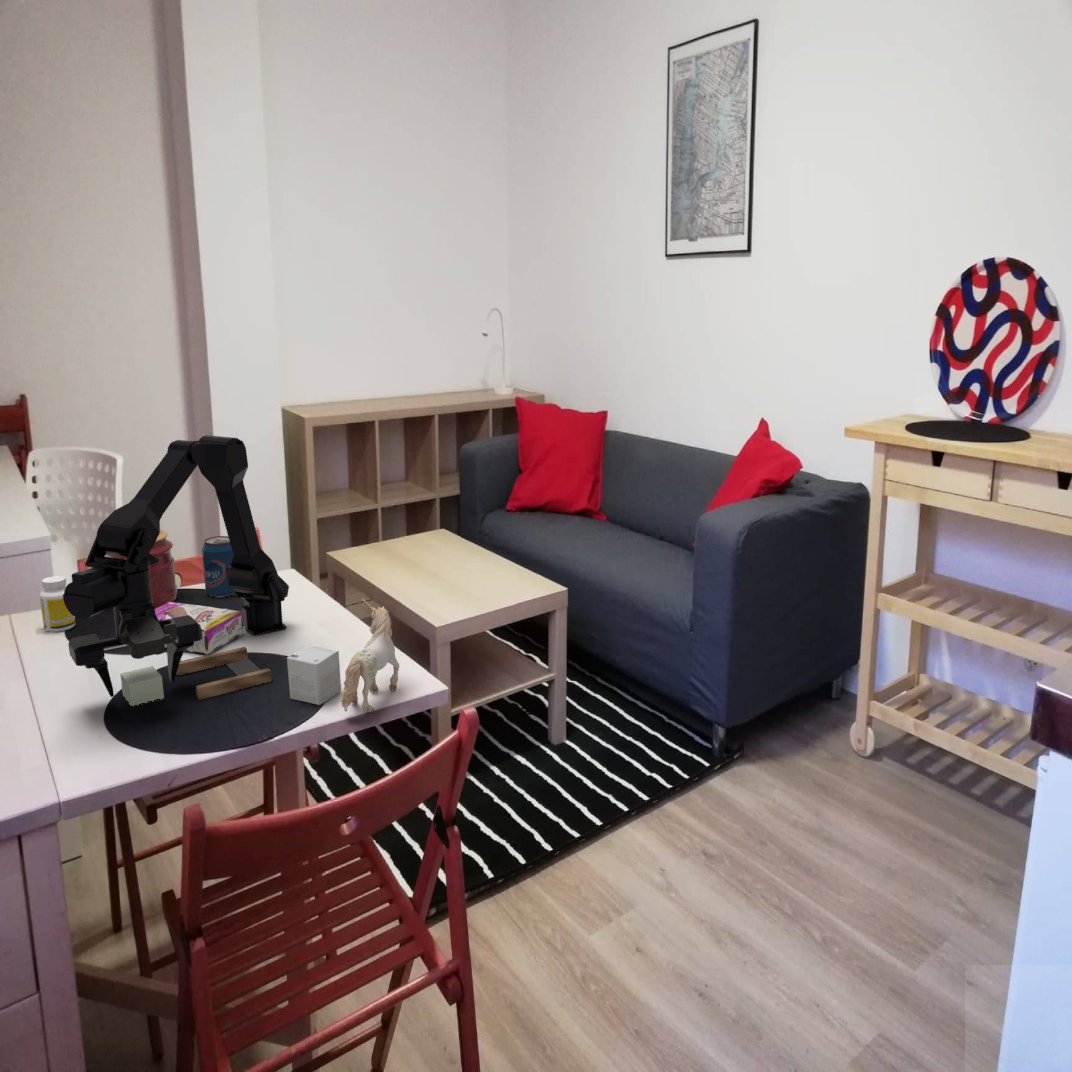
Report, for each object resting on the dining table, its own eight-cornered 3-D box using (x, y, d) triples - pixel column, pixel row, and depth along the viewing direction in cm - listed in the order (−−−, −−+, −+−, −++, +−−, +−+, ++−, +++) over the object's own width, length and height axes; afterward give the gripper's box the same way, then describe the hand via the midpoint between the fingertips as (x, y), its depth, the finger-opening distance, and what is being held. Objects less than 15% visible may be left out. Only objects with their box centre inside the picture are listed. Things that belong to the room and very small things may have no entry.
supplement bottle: (82, 624, 173) (76, 576, 170) (59, 634, 168) (52, 585, 165) (60, 620, 175) (54, 573, 172) (37, 630, 170) (30, 581, 167)
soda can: (199, 597, 189) (194, 543, 185) (216, 586, 195) (211, 534, 192) (230, 599, 188) (225, 545, 184) (245, 589, 194) (241, 536, 191)
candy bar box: (169, 599, 173) (243, 609, 169) (171, 623, 174) (244, 634, 170) (128, 618, 163) (206, 630, 158) (131, 643, 164) (208, 656, 160)
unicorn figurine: (405, 671, 155) (404, 599, 152) (386, 724, 137) (384, 643, 133) (364, 670, 155) (361, 598, 152) (340, 723, 137) (336, 642, 133)
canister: (95, 606, 182) (85, 523, 177) (144, 587, 194) (135, 509, 189) (145, 616, 178) (135, 531, 173) (191, 596, 189) (184, 516, 184)
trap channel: (245, 657, 160) (244, 646, 159) (271, 681, 150) (270, 670, 150) (176, 673, 153) (175, 662, 152) (199, 699, 143) (198, 688, 143)
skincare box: (341, 691, 147) (340, 650, 145) (319, 706, 142) (316, 663, 140) (312, 684, 150) (309, 643, 148) (288, 698, 144) (285, 656, 142)
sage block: (155, 688, 147) (152, 665, 146) (164, 699, 143) (161, 676, 142) (123, 696, 144) (120, 673, 143) (131, 707, 140) (128, 684, 139)
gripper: (77, 625, 127) (90, 724, 132) (209, 600, 138) (217, 692, 143) (62, 603, 136) (74, 696, 140) (187, 581, 147) (195, 668, 151)
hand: (142, 688), depth 143 cm, fingers open, 9 cm apart
